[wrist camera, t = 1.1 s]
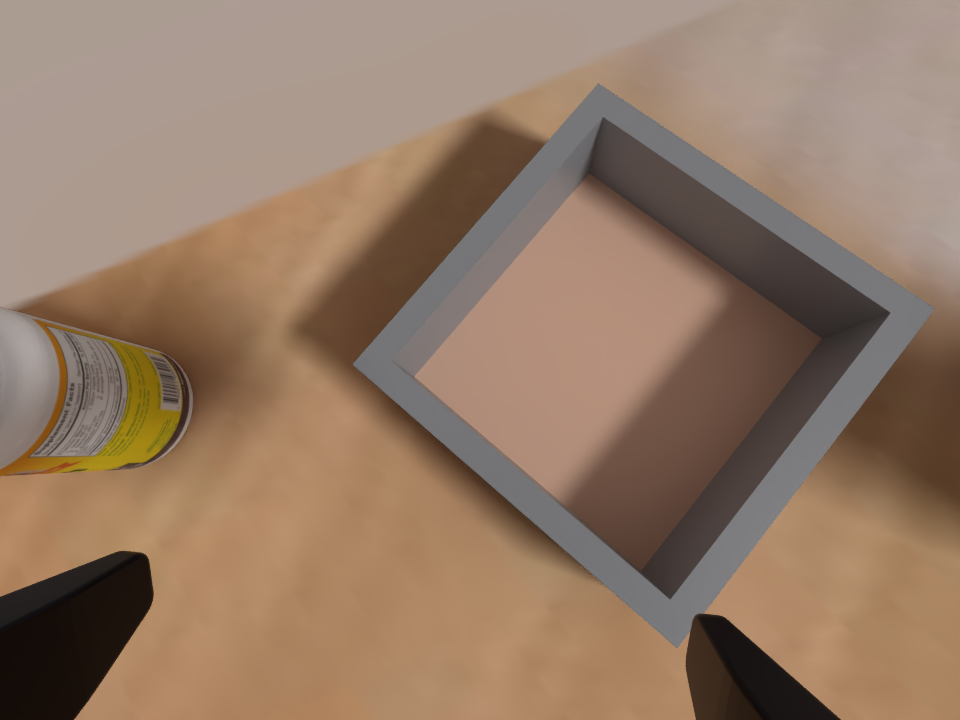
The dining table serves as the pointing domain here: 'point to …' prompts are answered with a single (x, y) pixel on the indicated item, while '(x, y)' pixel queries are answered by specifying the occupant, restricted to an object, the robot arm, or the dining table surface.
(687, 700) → the dining table surface
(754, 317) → the walled box
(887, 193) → the dining table surface
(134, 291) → the dining table surface
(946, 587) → the dining table surface
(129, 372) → the supplement bottle
